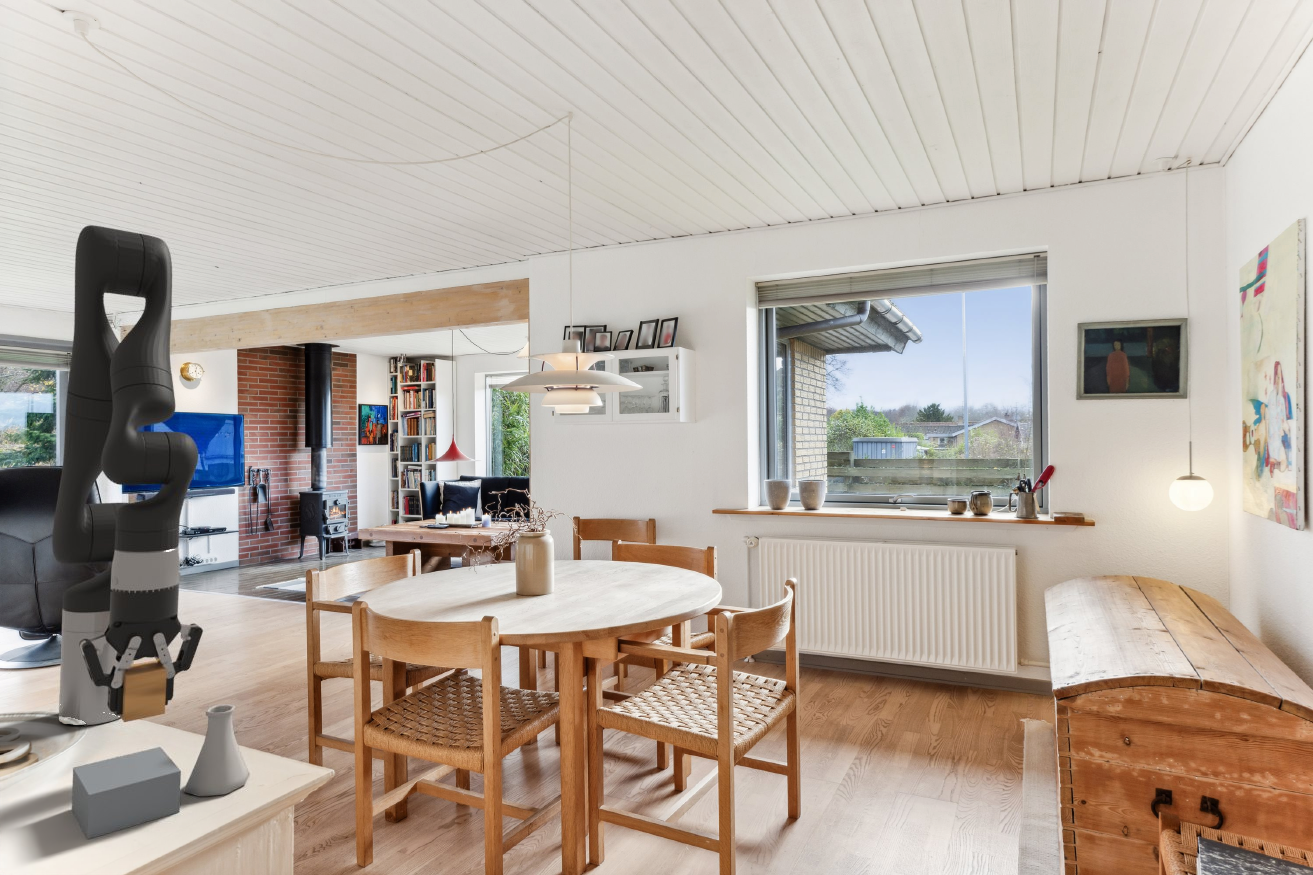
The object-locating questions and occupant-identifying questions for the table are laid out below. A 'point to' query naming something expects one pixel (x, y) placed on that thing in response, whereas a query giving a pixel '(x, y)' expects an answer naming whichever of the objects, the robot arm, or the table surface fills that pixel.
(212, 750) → the flask
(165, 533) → the robot arm
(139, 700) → the orange block
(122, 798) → the pedestal
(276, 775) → the table surface
